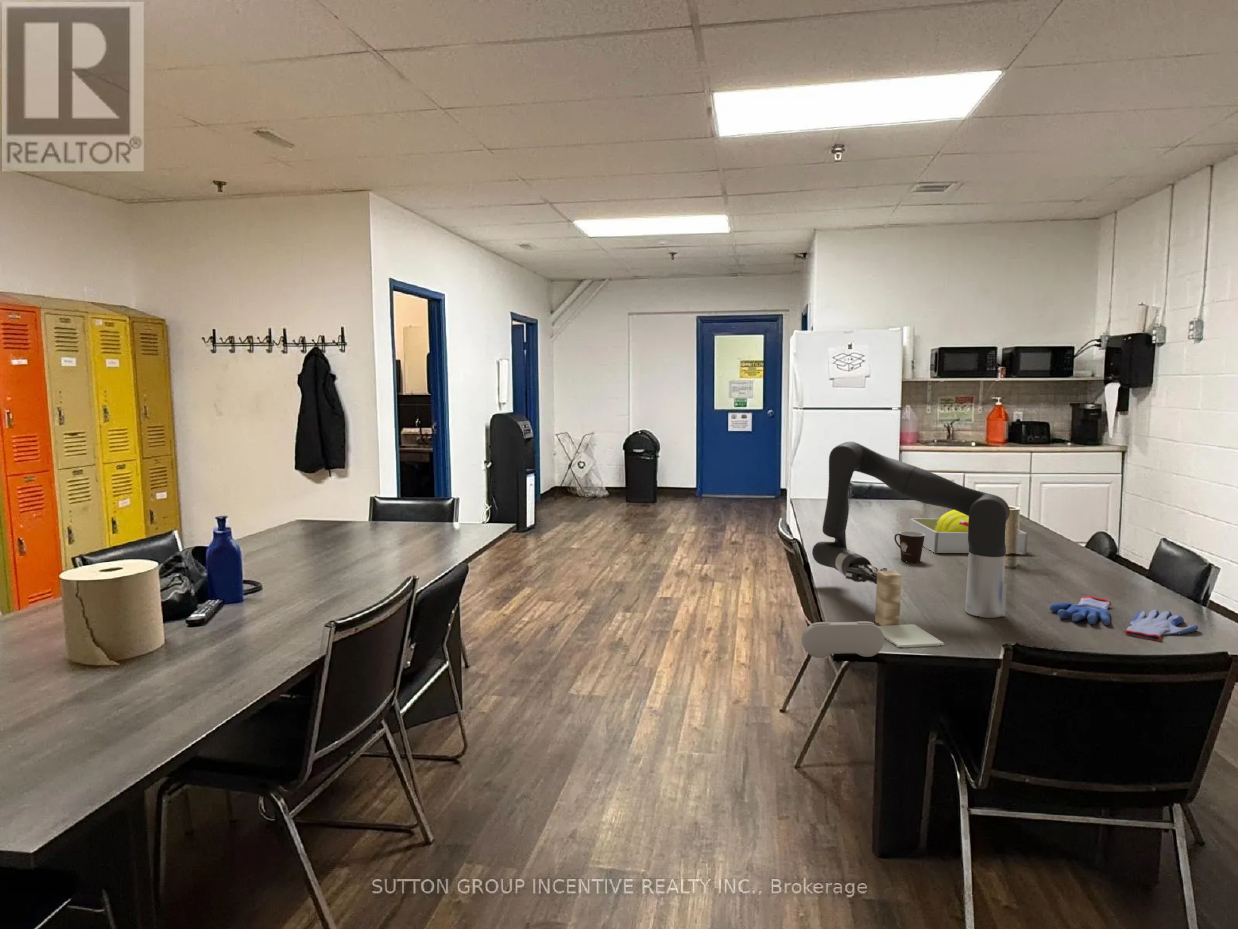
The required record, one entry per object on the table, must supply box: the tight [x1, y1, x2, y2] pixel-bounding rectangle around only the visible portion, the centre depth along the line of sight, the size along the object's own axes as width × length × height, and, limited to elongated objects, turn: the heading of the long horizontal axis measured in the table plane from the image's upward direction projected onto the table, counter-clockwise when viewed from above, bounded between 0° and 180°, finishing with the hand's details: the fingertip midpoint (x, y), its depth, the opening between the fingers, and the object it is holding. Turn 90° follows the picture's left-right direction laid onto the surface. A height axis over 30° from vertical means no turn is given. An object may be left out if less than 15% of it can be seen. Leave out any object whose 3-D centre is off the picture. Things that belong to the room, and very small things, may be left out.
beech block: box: [874, 570, 903, 626], centre depth 198 cm, size 4×4×14 cm
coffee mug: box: [894, 530, 925, 563], centre depth 268 cm, size 12×9×10 cm
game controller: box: [801, 620, 885, 659], centre depth 176 cm, size 20×2×8 cm, turn 93°
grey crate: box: [907, 517, 1029, 554], centre depth 291 cm, size 34×28×8 cm
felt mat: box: [876, 623, 945, 648], centre depth 189 cm, size 14×12×1 cm
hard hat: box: [934, 509, 969, 532], centre depth 289 cm, size 20×26×15 cm
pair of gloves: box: [1049, 595, 1199, 642], centre depth 201 cm, size 32×26×4 cm
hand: (881, 581), depth 201 cm, fingers closed
